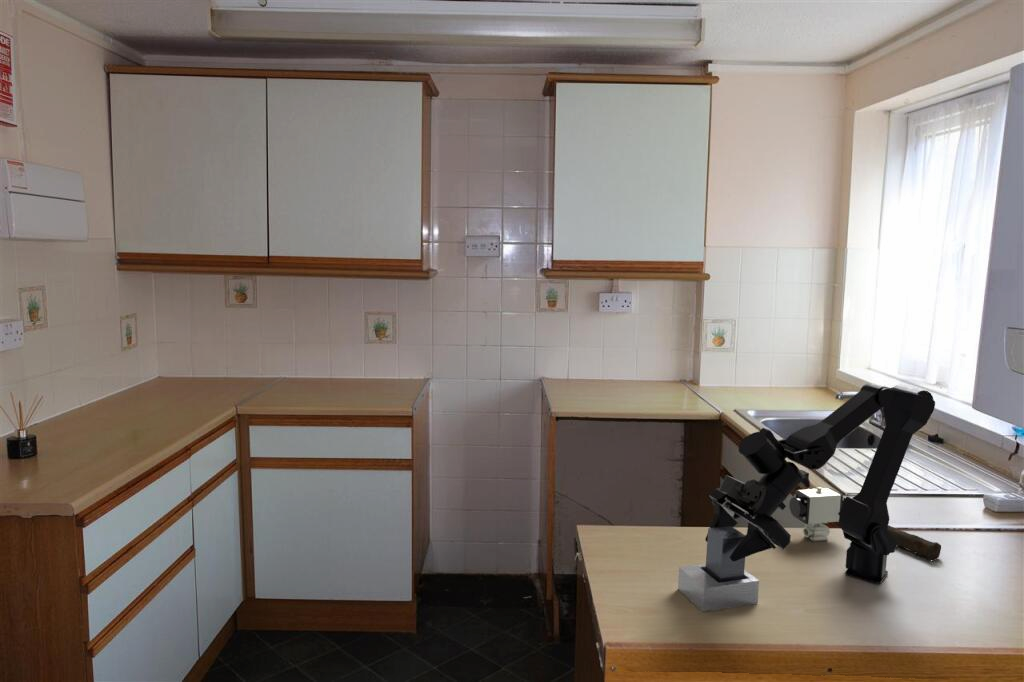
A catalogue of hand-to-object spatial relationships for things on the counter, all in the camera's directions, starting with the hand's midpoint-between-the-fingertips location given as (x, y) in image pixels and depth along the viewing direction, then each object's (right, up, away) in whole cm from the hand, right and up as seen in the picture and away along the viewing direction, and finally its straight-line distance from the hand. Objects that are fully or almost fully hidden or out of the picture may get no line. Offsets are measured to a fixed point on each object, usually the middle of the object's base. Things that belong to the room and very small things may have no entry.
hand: (718, 550), depth 133 cm
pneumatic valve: (+30, -6, +29) cm, 42 cm away
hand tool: (+46, -7, +26) cm, 53 cm away
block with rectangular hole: (0, -9, +1) cm, 9 cm away
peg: (+1, -9, +2) cm, 9 cm away
